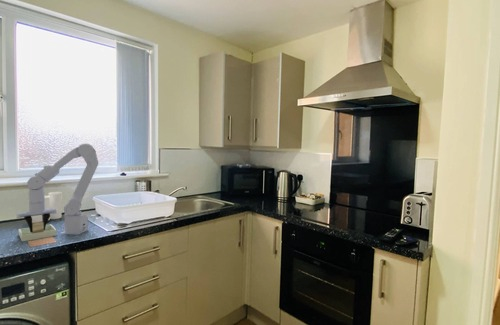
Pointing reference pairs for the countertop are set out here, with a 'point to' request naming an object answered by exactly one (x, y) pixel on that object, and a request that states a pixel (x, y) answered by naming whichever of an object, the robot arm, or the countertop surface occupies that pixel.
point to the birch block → (37, 227)
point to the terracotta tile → (41, 241)
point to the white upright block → (56, 204)
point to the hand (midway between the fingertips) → (37, 230)
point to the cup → (47, 206)
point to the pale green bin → (27, 235)
